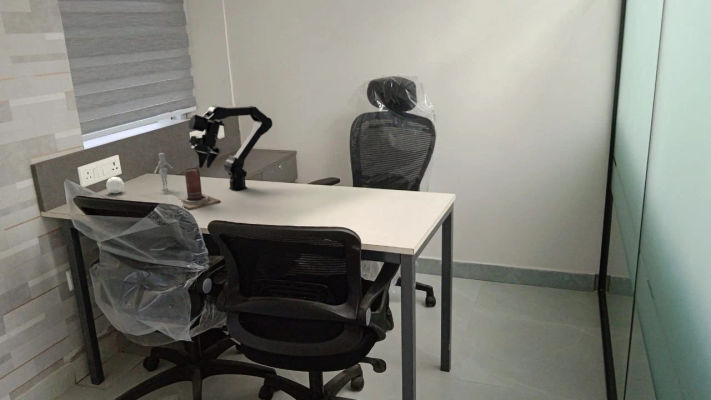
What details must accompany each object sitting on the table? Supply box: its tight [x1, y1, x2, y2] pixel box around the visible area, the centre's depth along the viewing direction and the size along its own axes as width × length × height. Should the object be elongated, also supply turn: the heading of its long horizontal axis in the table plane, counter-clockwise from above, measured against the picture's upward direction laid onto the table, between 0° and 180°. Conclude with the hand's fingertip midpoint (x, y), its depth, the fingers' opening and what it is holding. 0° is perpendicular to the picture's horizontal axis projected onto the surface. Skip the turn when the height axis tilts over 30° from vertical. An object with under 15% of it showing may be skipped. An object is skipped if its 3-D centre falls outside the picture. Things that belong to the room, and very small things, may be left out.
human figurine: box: [153, 152, 174, 192], centre depth 265 cm, size 12×4×18 cm, turn 152°
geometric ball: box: [105, 176, 125, 194], centre depth 264 cm, size 8×8×8 cm
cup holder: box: [179, 193, 221, 211], centre depth 247 cm, size 15×15×2 cm
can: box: [184, 168, 203, 201], centre depth 245 cm, size 6×6×14 cm
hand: (204, 167), depth 254 cm, fingers open, 9 cm apart
